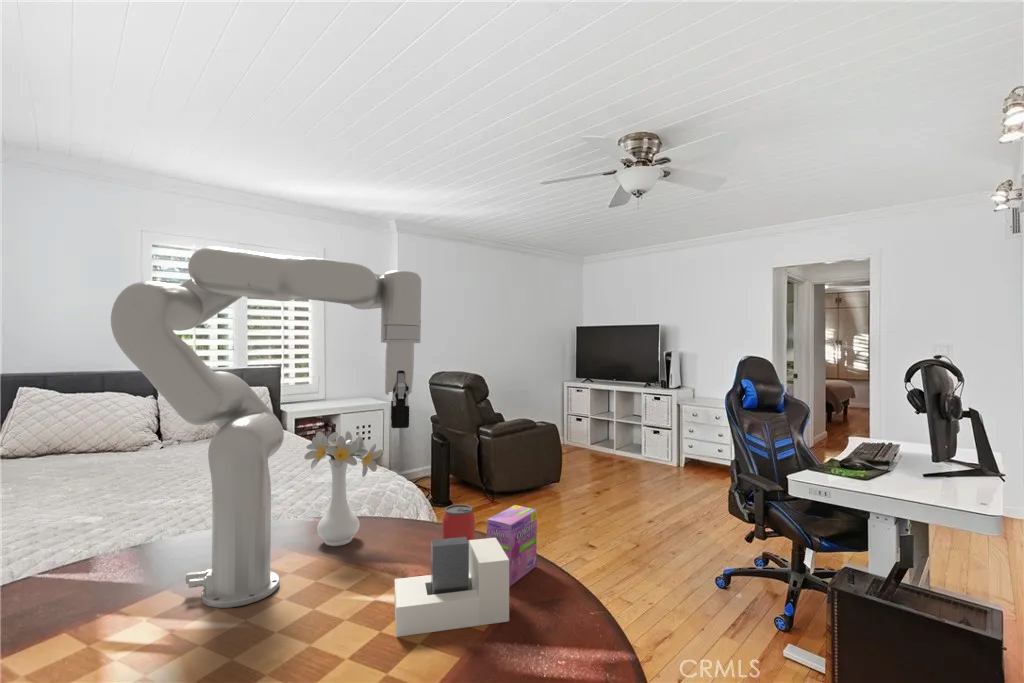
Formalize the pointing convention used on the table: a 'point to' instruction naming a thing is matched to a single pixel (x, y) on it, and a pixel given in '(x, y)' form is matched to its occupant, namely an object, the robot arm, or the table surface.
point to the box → (516, 538)
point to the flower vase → (340, 482)
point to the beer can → (459, 522)
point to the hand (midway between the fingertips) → (399, 423)
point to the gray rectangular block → (449, 565)
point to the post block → (457, 595)
